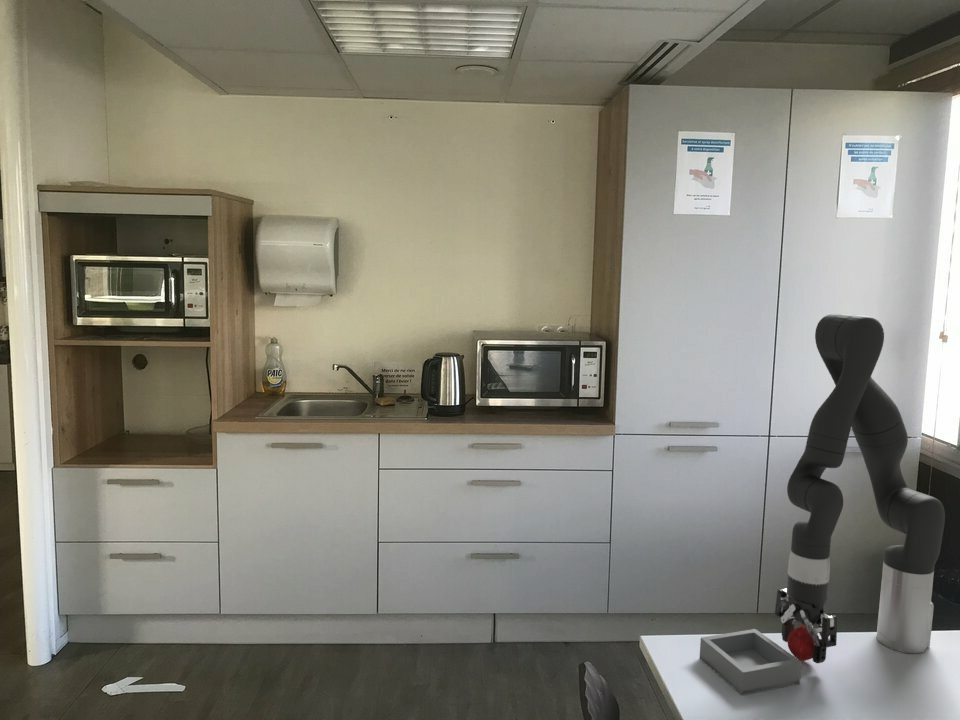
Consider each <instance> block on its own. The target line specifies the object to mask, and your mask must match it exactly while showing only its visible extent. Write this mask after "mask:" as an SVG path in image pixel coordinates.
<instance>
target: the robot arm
mask: <svg viewBox="0 0 960 720" xmlns="http://www.w3.org/2000/svg"><path fill="white" fill-rule="evenodd" d="M814 339H815V344H816V348H817V351H818V353H819V355H820V358H821V359H822V361H823V363H824V365H825V368H826V370H828V373H829V375H830V377H831V379H832V380H833V383H834V385H835V387H834V388H833V390H832V392H830V394H829V396H828V397H827V398H826V399H825V400H824V402H823V403H822V404H821V405H820V407H819V408H818V409H817V410H816V412H815V414H814V416H813V418H812V420H811V423H810V426H809V430H808V434H807V438H806V443H805V447H804V452H803V453H802V455H801V457H800V459H799V460H798V462H797V463H796V466H795V467H794V470H793V471H792V473H791V475H790V477H789V479H788V482H787V486H786V492H787V496H788V500H789V501H790V503H791V504H792V505H793V506H795V507H797V508H799V509H801V510H804V511H806V512H809V513H810V514H809V515H810V516H809V519H808V520H801V521H797V522H796V523H795V524H794V525H793V527H792V532H791V546H790V554H789V558H788V566H787V580H786V588H781V589H777V592H776V600H775V609H774V615H775V616H776V617H777V618H778V617H779V618H780V621H781V623H782V627H781V639H782V642H785V643H788V636H789V634H790V633H791V632H792V631H793V630H794V629H795V623H793V622H795V621H797V623H798V622H799V623H801V625H802V624H803V625H804V626H806V627H807V630H808V632H809V634H811V635H812V637H813V640H814V643H815V644H814V650H813V658H812V661H813V662H814V663H815V664H822V663H824V662H825V661H826V659H827V648H831V647H836V646H837V638H838V637H837V634H838V618H837V616H836V615H835V614H834V615H828V614H827V613H826V611H825V609H824V606H825V604H826V603H827V601H828V598H829V585H830V572H831V562H830V557H831V556H830V554H831V543H832V536H833V533H834V531H835V529H836V526H837V523H838V521H839V519H840V517H841V514H842V511H843V508H844V496H843V491H842V490H841V489H840V487H839V486H838V485H837V484H836V483H835V482H833V481H830V480H826V479H823V478H821V477H822V475H823V473H824V472H825V470H826V469H837V468H840V467H841V466H842V465H843V461H844V459H845V458H844V457H845V454H846V451H847V446H848V442H849V441H848V440H849V438H850V433H851V429H852V433H853V435H854V438H855V441H856V443H857V446H858V447H859V450H860V453H861V455H862V458H863V461H864V464H865V467H866V470H867V473H868V476H869V479H870V483H871V487H872V492H873V495H874V501H875V504H876V508H877V511H878V514H879V518H880V519H881V520H882V522H883V524H885V525H886V526H888V527H889V528H890V529H892V530H896V531H897V532H900V533H901V534H905V539H904V544H898V545H895V544H893V545H890V546H887V547H886V548H885V549H884V552H883V560H882V561H883V563H882V571H881V572H882V573H881V574H882V575H881V585H880V597H879V605H878V607H879V608H878V617H877V625H876V626H877V629H876V640H877V641H878V642H879V643H881V644H882V645H883V646H885V647H887V648H890V649H892V650H893V651H898V652H902V653H907V654H921V653H925V651H926V650H927V648H928V647H930V646H931V638H932V637H931V636H932V628H933V627H932V626H933V617H934V608H935V607H934V602H932V595H933V586H934V584H933V583H934V575H935V565H936V563H937V561H938V558H939V556H940V553H941V546H942V541H943V535H944V529H945V522H946V513H945V508H944V505H943V503H942V501H941V500H939V499H938V498H936V497H934V496H931V495H930V494H926V493H923V492H919V491H917V490H914V489H911V488H910V487H909V486H908V484H907V483H906V481H905V478H904V476H903V474H902V473H903V472H902V469H901V461H902V459H903V457H904V455H905V452H906V450H907V447H908V442H909V436H908V432H907V429H906V426H905V423H904V420H903V417H902V415H901V412H900V409H899V408H898V406H897V405H896V403H895V402H894V401H893V400H892V398H891V397H890V396H889V394H888V393H887V392H886V391H885V390H884V389H883V388H882V387H881V385H879V384H878V383H877V382H876V381H875V379H874V378H873V377H872V375H873V373H874V370H875V368H876V366H877V363H878V360H879V358H880V356H881V353H882V349H883V347H884V342H885V332H884V327H883V326H882V323H881V322H880V321H879V320H878V319H877V318H875V317H872V316H868V315H860V314H859V315H858V314H846V313H830V314H828V315H825V316H823V317H822V318H821V319H820V320H819V321H818V323H817V325H816V327H815V334H814ZM817 625H818V627H817V628H815V627H816V626H817ZM819 635H820V636H819ZM820 637H821V638H820Z"/></svg>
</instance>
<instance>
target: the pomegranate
mask: <svg viewBox="0 0 960 720" xmlns="http://www.w3.org/2000/svg"><path fill="white" fill-rule="evenodd" d="M814 644H815V643H814V640H813V637H812V635H811V634H809V632H808V630H807V627H806V626H804V625H803V624H802V623H801V625H800V626H799V627H796V628H794V630H793V631H792V632H791V633H790V634H789V636H788V642H787V647H788V650H789V652H790V654H791V655H793V656H794V657H795V658H797V659H798V660H800V661H801V662H806V661H809V660H811V659H812V660H813V650H814Z"/></svg>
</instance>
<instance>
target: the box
mask: <svg viewBox="0 0 960 720" xmlns="http://www.w3.org/2000/svg"><path fill="white" fill-rule="evenodd" d="M699 646H700V647H699V659H700V660H701V661H702V662H703V663H704V664H705V665H706V664H707V666H708V668H710V669H711V670H712V671H713V670H714V671H715V674H716V675H718V676H719V677H720V678H721V679H722V680H723V681H725V682H726V683H727V684H728V685H729V686H730V687H732V688H733V690H735V691H736V692H737V693H738V694H740V695H741V696H744V695H749V694H753V693H754V694H755V693H760V692H764V691H770V690H774V689H780V688H784V687H785V688H786V687H790V686H796V685H800V684H801V669H802V661H800V660H798V659H797V658H796V657H795V656H794V655H793V654H792V653H791V652H789V651H787V650H785V649H784V648H783V647H782V646H780V645H779V644H778V643H776V642H774V641H773V640H772V639H770V638H769V637H768V636H766V635H765V634H763V632H761V631H759V630H758V629H756V628H752V629H746V630H739V631H734V632H733V631H732V632H727V633H720V634H716V635H709V636H703V637H700V644H699ZM714 671H713V672H714Z"/></svg>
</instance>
